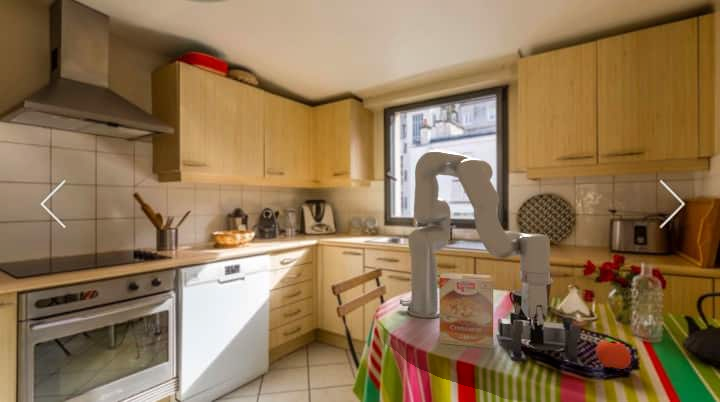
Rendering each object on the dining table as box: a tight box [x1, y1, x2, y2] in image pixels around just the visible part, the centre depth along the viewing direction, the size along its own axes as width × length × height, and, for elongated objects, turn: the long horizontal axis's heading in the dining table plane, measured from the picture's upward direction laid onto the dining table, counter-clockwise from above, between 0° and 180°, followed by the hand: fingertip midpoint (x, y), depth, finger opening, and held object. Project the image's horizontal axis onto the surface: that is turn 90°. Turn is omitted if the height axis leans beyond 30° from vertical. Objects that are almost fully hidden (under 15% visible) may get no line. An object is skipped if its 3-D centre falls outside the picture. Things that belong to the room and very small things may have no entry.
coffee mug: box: [509, 289, 527, 321], centre depth 112 cm, size 12×9×10 cm
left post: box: [506, 312, 527, 362], centre depth 88 cm, size 4×7×10 cm, turn 164°
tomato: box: [595, 337, 632, 370], centre depth 82 cm, size 8×7×7 cm
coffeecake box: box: [438, 272, 494, 350], centre depth 97 cm, size 15×7×20 cm, turn 75°
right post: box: [559, 315, 584, 365], centre depth 85 cm, size 4×7×10 cm, turn 164°
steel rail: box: [497, 318, 565, 343], centre depth 95 cm, size 19×4×4 cm, turn 74°
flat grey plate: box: [496, 333, 580, 354], centre depth 95 cm, size 20×7×1 cm, turn 74°
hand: (534, 339), depth 95 cm, fingers closed on steel rail, 4 cm apart
